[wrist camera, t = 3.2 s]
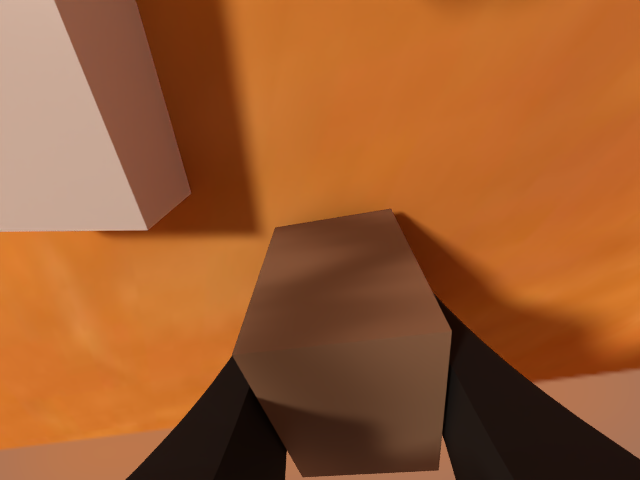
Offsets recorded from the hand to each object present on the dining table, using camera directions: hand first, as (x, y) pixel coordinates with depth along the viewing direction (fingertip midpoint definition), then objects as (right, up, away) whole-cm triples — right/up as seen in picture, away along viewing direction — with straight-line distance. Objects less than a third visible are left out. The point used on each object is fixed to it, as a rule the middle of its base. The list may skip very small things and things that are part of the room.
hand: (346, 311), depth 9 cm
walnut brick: (0, +1, +1) cm, 1 cm away
